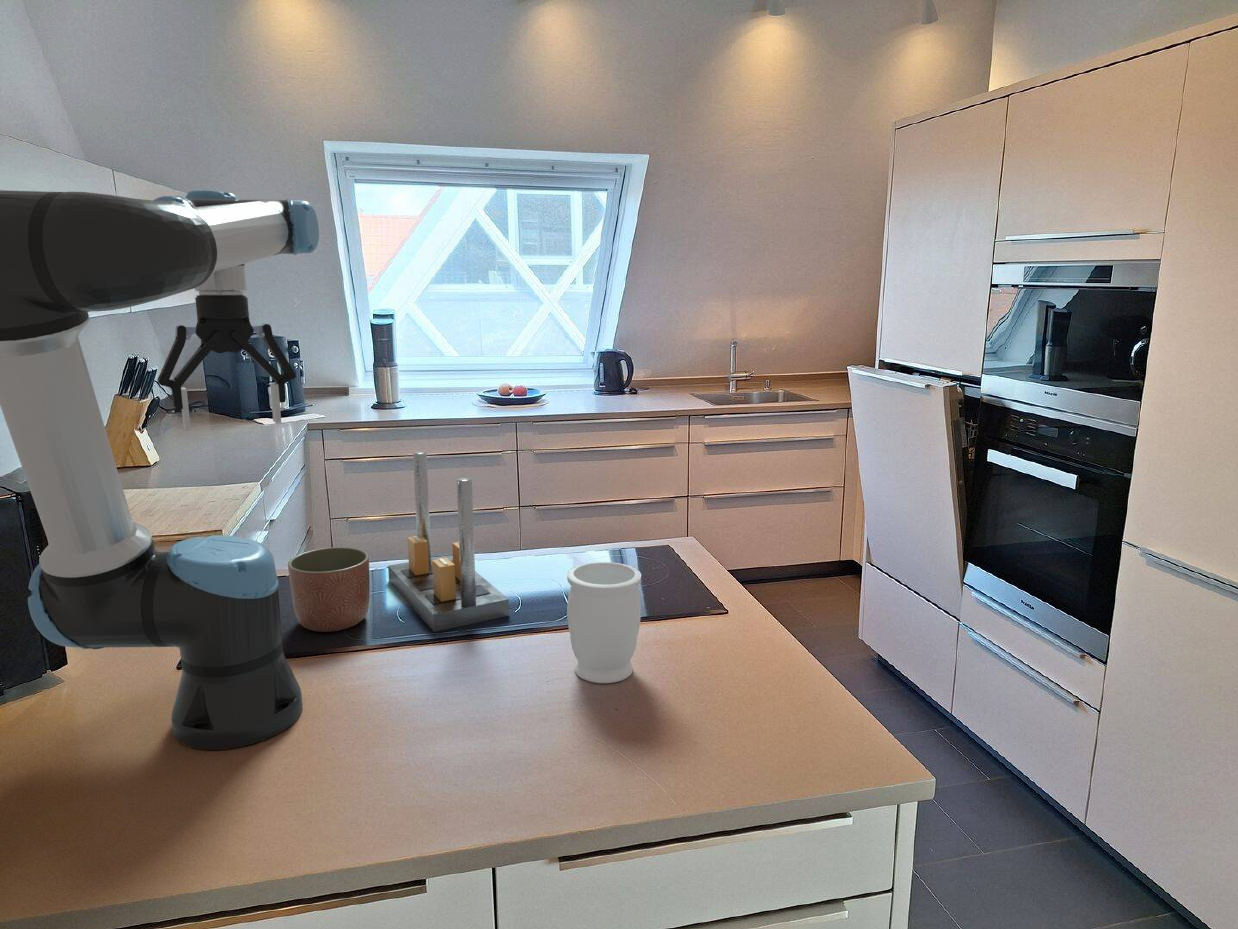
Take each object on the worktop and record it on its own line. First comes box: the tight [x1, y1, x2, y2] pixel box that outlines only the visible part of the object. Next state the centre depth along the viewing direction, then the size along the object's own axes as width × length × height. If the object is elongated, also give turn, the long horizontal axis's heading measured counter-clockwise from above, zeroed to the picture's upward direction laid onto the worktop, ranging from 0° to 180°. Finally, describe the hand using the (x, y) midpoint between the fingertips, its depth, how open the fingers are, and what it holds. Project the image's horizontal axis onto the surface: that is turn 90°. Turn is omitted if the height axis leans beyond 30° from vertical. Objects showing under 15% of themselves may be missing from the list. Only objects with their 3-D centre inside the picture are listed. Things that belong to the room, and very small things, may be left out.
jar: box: [566, 561, 642, 684], centre depth 117 cm, size 11×10×15 cm
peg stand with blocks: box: [387, 451, 510, 633], centre depth 143 cm, size 26×13×24 cm, turn 31°
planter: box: [287, 546, 371, 633], centre depth 133 cm, size 12×12×11 cm
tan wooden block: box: [407, 535, 429, 575], centre depth 148 cm, size 4×2×6 cm, turn 31°
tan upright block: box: [451, 541, 460, 580], centre depth 146 cm, size 4×2×6 cm, turn 31°
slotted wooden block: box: [432, 558, 456, 602], centre depth 137 cm, size 4×2×6 cm, turn 31°
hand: (233, 425), depth 135 cm, fingers open, 13 cm apart
